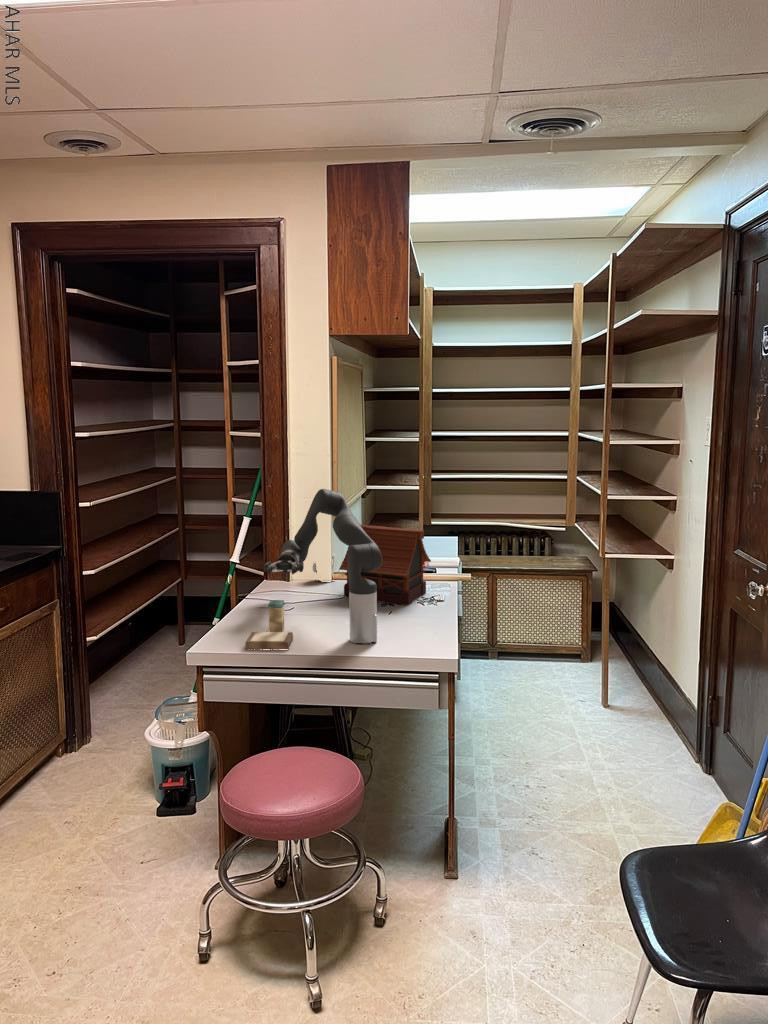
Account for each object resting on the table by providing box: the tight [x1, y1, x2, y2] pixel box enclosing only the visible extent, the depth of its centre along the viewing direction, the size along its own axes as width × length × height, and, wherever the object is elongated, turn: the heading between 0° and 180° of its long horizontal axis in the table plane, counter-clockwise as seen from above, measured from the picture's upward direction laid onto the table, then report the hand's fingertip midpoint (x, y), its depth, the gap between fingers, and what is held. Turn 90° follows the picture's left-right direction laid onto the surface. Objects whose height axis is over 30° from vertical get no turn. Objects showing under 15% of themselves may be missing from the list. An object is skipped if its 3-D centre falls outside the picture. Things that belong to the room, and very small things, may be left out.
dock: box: [245, 631, 294, 651], centre depth 242 cm, size 14×10×3 cm
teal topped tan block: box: [267, 599, 285, 632], centre depth 255 cm, size 5×5×11 cm
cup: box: [312, 553, 336, 574], centre depth 326 cm, size 10×9×12 cm
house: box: [338, 524, 432, 606], centre depth 301 cm, size 35×28×29 cm
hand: (281, 571), depth 264 cm, fingers open, 8 cm apart
